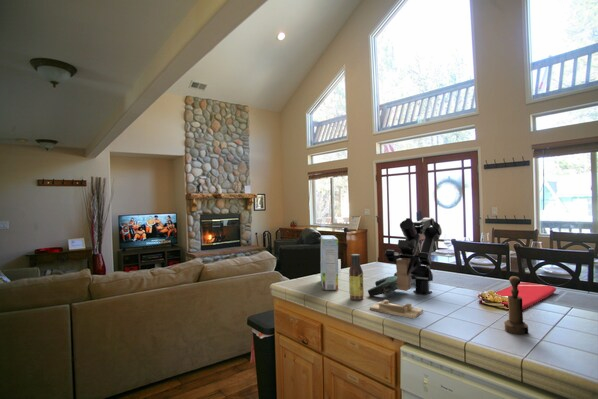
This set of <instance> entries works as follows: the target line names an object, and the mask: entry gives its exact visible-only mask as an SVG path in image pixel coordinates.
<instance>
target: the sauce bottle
mask: <svg viewBox="0 0 598 399" xmlns="http://www.w3.org/2000/svg"><path fill="white" fill-rule="evenodd" d="M350 259H351V265H350V267H349V271H348V272H349V273H348V274H349V275H348V281H349V284H348V285H349V298H350V299H351V300H354V301H360V300H363V299H364V296H365V295H364V294H365V293H364V272H363V269H362V268H363V267H362V266H361V262H360V261H361V260H360V259H361V254H360V253H359V254H358V253H353V254H350Z"/></svg>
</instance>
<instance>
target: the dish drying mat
mask: <svg viewBox="0 0 598 399" xmlns="http://www.w3.org/2000/svg"><path fill="white" fill-rule="evenodd" d="M517 288H518V290H519V293H518V296H519V297H522V309H524V310H526V309H528V308H530V307H532V306H533V304H534V303H535V304H537V303H539V302H540V300H541V301H543V300H544V299H546V298H548V297H549V296H550V295H553V293H555V292H556V291H557V288H556V287H555V286H552V285H545V284H540V283H533V282H520V283H519V285H518V287H517ZM511 289H512V285H511V286H508V287H506V288H503V289H501V290H498V291H495V292H494V293H496V294H498V295H501V296H512V293H511ZM542 299H543V300H542ZM538 301H539V302H538ZM536 302H537V303H536ZM478 303H479V304H480V303H482V299H480V300H478ZM500 303H502V304H504V306H506V307H507V308H508V302H500ZM535 304H534V305H535ZM531 305H532V306H531ZM529 306H530V307H529ZM527 307H528V308H527ZM525 308H526V309H525Z"/></svg>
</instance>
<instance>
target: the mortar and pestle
mask: <svg viewBox="0 0 598 399" xmlns="http://www.w3.org/2000/svg"><path fill="white" fill-rule="evenodd" d="M508 280H509V283H510V285H511V286H512V289H511V293H512V296H508V308H509V310H508V319H507V320H505V321H504V331H505V332H507V333H510V334H513V335H519V336H520V335H522V336H523V335H528V334H529V326H528V324H526V322H525V321H524V316H523V315H524V314H523V312H524V310H523V309H522V297H519V296H518V293H519V290H518V288H517V287H518V285H519V283H521V279H520V277H519V276H515V275H512V276H510V277H509V278H508Z"/></svg>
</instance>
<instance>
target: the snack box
mask: <svg viewBox="0 0 598 399" xmlns="http://www.w3.org/2000/svg"><path fill="white" fill-rule="evenodd" d="M320 283H321V287H322V290H323V291H338V290H339V239H338V238H337V237H336V236H335V235H332V234H331V235H329V234H327V235H323V234H322V235H320Z"/></svg>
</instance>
